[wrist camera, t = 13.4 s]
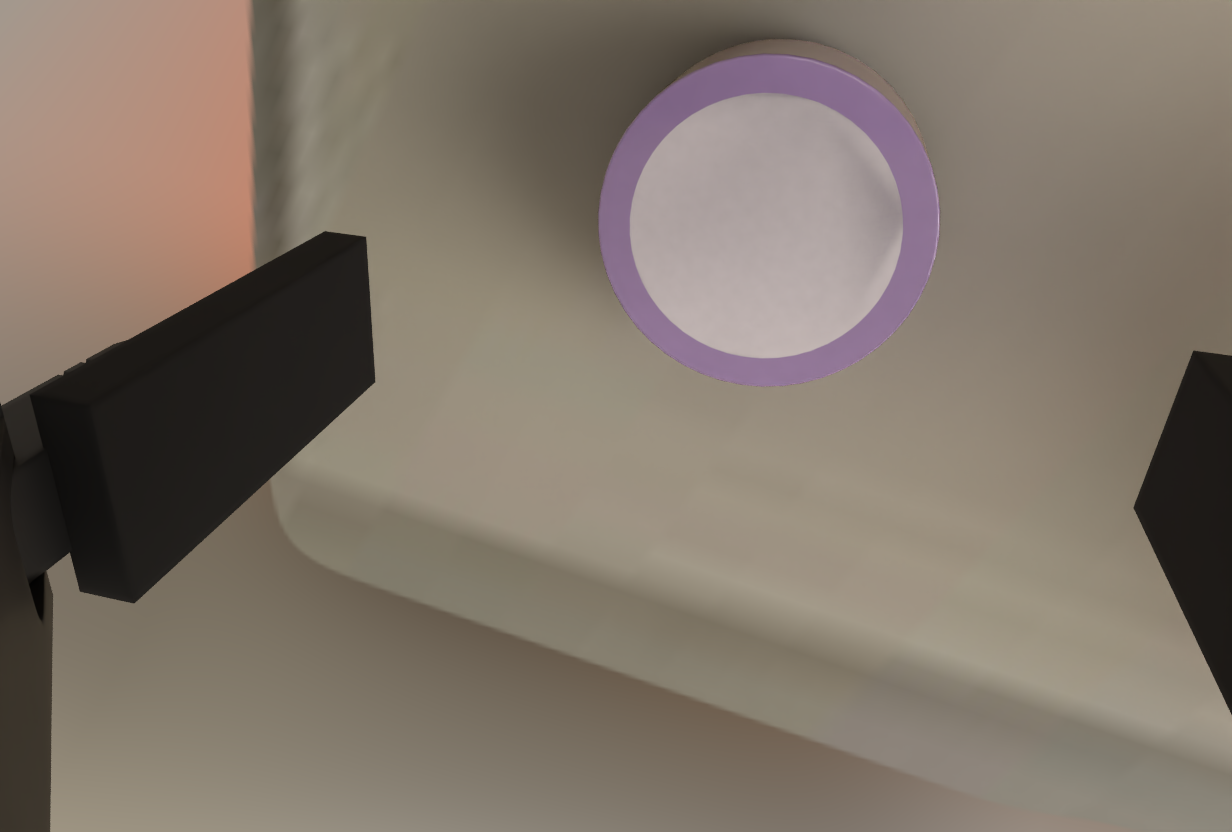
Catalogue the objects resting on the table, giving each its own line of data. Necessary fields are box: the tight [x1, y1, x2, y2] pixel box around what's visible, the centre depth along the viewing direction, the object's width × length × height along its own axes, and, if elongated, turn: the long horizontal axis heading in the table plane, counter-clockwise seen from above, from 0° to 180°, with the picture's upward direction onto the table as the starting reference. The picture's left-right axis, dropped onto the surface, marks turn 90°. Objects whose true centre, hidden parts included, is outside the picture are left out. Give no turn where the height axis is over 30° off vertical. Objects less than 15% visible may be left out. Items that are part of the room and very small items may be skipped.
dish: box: [598, 39, 940, 386], centre depth 24 cm, size 8×8×4 cm
